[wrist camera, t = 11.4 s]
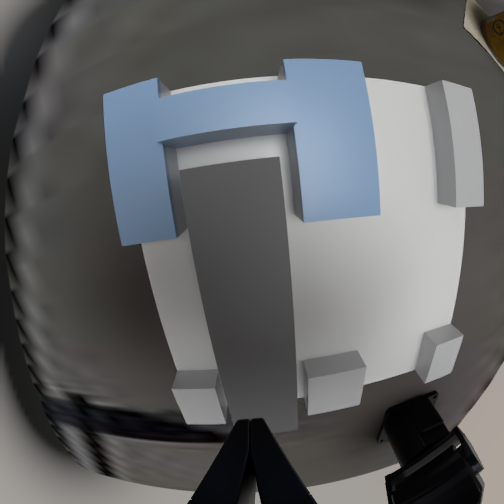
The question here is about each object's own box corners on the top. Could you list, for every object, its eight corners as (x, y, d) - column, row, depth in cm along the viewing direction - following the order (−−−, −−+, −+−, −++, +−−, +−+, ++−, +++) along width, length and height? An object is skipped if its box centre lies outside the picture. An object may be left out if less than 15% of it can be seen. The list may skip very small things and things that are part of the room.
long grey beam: (290, 390, 19) (298, 430, 15) (238, 395, 19) (236, 436, 15) (270, 161, 14) (279, 156, 10) (197, 170, 14) (179, 170, 10)
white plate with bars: (435, 354, 20) (459, 382, 15) (192, 397, 20) (184, 438, 16) (446, 95, 13) (485, 85, 9) (129, 107, 14) (93, 90, 9)
